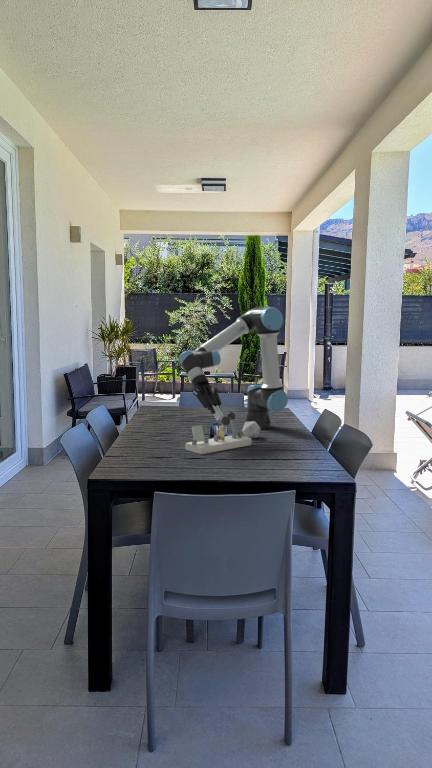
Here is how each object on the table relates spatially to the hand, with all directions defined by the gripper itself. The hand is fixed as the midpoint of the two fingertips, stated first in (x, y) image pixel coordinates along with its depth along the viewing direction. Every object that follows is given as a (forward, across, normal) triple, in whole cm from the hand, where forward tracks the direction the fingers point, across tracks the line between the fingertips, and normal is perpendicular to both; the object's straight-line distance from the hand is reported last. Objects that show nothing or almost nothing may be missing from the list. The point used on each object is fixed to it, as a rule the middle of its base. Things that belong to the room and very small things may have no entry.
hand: (220, 418), depth 247 cm
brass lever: (+6, -1, -9) cm, 11 cm away
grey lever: (+6, -12, -9) cm, 16 cm away
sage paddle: (+6, +10, -9) cm, 15 cm away
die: (+3, -28, -16) cm, 32 cm away
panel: (+8, -1, -11) cm, 14 cm away
